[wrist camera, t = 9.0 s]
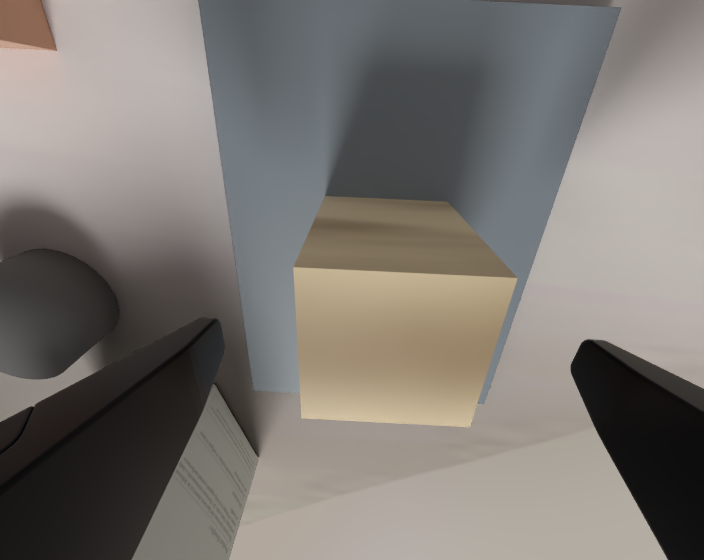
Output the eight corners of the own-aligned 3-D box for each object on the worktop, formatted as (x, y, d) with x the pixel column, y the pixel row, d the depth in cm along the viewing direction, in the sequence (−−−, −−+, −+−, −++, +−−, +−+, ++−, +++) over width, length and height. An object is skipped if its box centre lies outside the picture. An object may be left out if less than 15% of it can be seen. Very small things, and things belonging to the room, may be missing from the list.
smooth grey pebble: (132, 339, 17) (89, 382, 14) (37, 333, 17) (-23, 376, 14) (101, 251, 14) (41, 283, 12) (-9, 245, 14) (-93, 275, 12)
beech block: (428, 305, 14) (469, 427, 8) (325, 300, 14) (301, 418, 9) (447, 201, 12) (517, 278, 6) (325, 196, 12) (292, 267, 6)
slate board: (477, 388, 17) (484, 404, 16) (259, 376, 17) (253, 390, 17) (598, 16, 10) (621, 7, 9) (211, -3, 10) (196, -14, 9)
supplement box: (101, 396, 19) (-286, 820, 8) (218, 380, 18) (-26, 835, 7) (161, 470, 22) (-45, 839, 11) (262, 460, 21) (150, 852, 10)
